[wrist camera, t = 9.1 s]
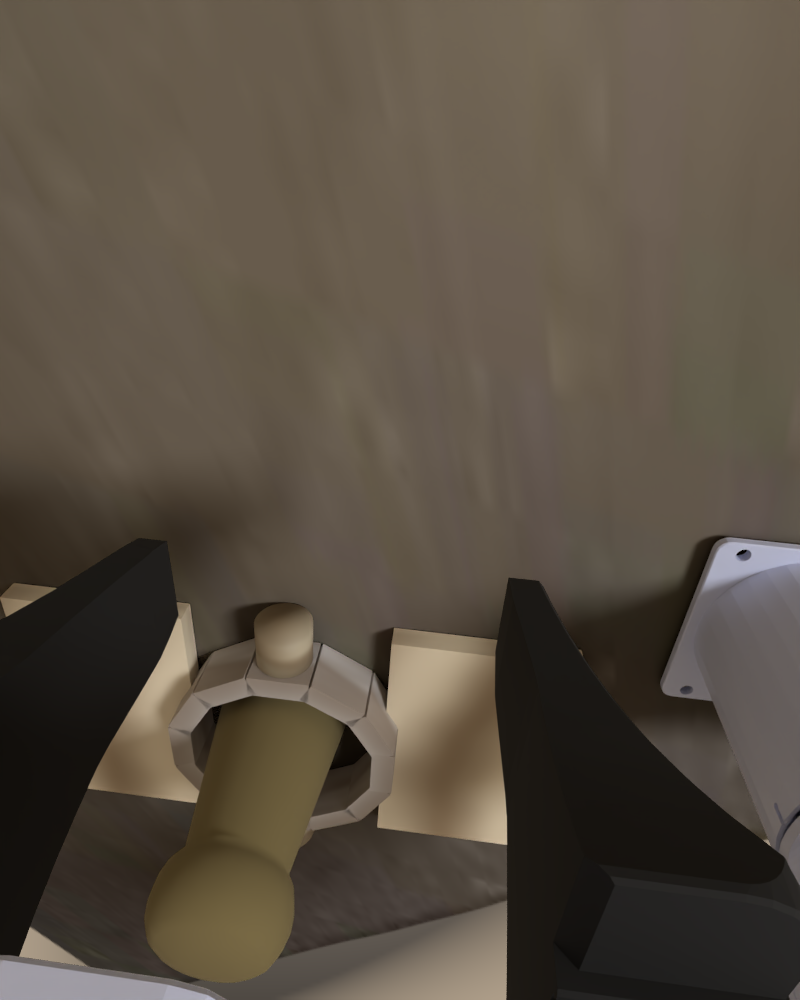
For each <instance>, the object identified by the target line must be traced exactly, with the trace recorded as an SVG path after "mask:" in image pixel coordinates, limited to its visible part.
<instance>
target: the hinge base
mask: <svg viewBox="0 0 800 1000" xmlns="http://www.w3.org/2000/svg"><path fill="white" fill-rule="evenodd" d="M55 589H56V588H53V587H44V586H36V585H27V584H19V583H13V584H12V585H11V586H10V587H9V588H8V589H7V590H6V591H5V592H4V594H3V595H2V596H1V597H0V600H1V603H2V606H3V609H4V612H5V615H6V617H7V616H9V615H11V614H12V613H14V612H16V611H18V610H19V609H21V608H23V607H25V606H27V605H28V604H30V603H32V602H34V601H35V600H37V599H39V598H41V597H42V596H44V595H46V594H48V593H50V592H51V591H53V590H55ZM177 608H178V614H179V616H178V618H177V621H176V623H175V626H174V628H173V631H172V633H171V636H170V638H169V641H168V643H167V645H166V647H165V650H164V652H163V654H162V657H161V658H160V660H159V662H158V664H157V665H156V667H155V669H154V671H153V672H152V674H151V676H150V678H149V679H148V681H147V683H146V684H145V686H144V688H143V689H142V691H141V693H140V695H139V696H138V698H137V700H136V701H135V703H134V705H133V706H132V708H131V710H130V711H129V713H128V715H127V716H126V718H125V720H124V721H123V723H122V725H121V726H120V728H119V730H118V731H117V733H116V735H115V736H114V738H113V740H112V742H111V743H110V745H109V747H108V748H107V750H106V752H105V754H104V756H103V758H102V760H101V761H100V763H99V765H98V767H97V769H96V771H95V773H94V776H93V778H92V780H91V782H90V784H89V786H88V789H95V790H103V791H110V792H118V793H125V794H133V795H140V796H147V797H155V798H162V799H170V800H177V801H185V802H192V803H196V802H197V799H198V795H199V791H200V787H201V783H202V779H203V776H204V772H205V768H206V764H207V760H208V756H209V752H210V749H211V745H212V741H213V737H214V733H215V729H216V724H215V723H214V719H213V712H212V707H215V706H218V705H221V704H225V703H228V702H232V701H235V700H238V699H242V698H245V697H249V696H252V695H253V696H261V697H269V698H277V699H285V700H293V701H301V702H305V703H307V704H309V705H311V706H313V707H315V708H316V709H318V710H320V711H322V712H324V713H326V714H328V715H330V716H332V717H334V718H335V719H337V720H339V721H341V722H343V723H345V724H347V725H348V726H349V727H350V728H351V730H352V731H353V732H354V734H355V735H356V737H357V738H358V739H359V741H360V742H361V743H362V745H363V746H364V747H365V749H366V750H367V752H366V753H365V754H364V755H363V756H362V757H361V758H360V759H359V760H358V761H357V762H356V763H355V764H353V765H349V766H345V767H341V768H336V769H332V770H329V771H328V774H327V776H326V779H325V782H324V784H323V787H322V790H321V792H320V795H319V797H318V800H317V803H316V805H315V808H314V810H313V813H312V816H311V818H310V821H309V824H308V826H307V829H306V831H305V834H304V837H303V839H302V842H301V845H300V847H302V846H303V845H305V844H306V843H307V842H308V841H309V840H310V839H311V837H312V835H313V833H314V830H319V829H324V828H329V827H334V826H338V825H343V824H348V823H353V822H358V821H359V820H362V819H363V818H364V817H365V816H366V815H368V814H369V813H370V812H371V811H372V810H373V809H375V808H376V807H377V806H378V805H379V812H378V824H377V827H378V828H385V829H393V830H400V831H408V832H415V833H423V834H430V835H438V836H445V837H452V838H460V839H467V840H475V841H482V842H490V843H497V844H505V845H507V814H506V799H505V789H504V779H503V770H502V760H501V751H500V742H499V732H498V723H497V713H496V703H495V650H496V645H497V640H494V639H485V638H477V637H468V636H460V635H451V634H443V633H434V632H426V631H417V630H409V629H400V628H394V632H393V638H392V645H391V658H390V671H389V684H388V692H387V690H386V689H385V687H384V686H383V684H382V683H381V682H380V680H379V679H378V677H377V676H376V674H375V673H372V670H370V669H368V668H366V667H365V666H363V665H361V664H359V663H357V662H356V661H354V660H352V659H350V658H348V657H346V656H345V655H343V654H341V653H339V652H337V651H336V650H334V649H332V648H330V647H328V646H327V645H325V644H323V645H322V646H321V643H317V642H313V618H312V615H311V613H310V612H309V611H308V610H307V609H306V608H304V607H302V606H300V605H297V604H293V603H279V604H274V605H271V606H269V607H267V608H265V609H263V610H262V611H261V612H260V613H259V614H258V615H257V616H256V618H255V620H254V634H255V638H254V639H251V640H248V641H244V642H241V643H238V644H235V645H232V646H229V647H226V648H223V649H220V650H217V651H214V652H213V653H211V655H210V656H209V657H208V659H207V660H206V662H205V663H204V664H203V666H202V667H201V669H200V670H199V667H198V659H197V652H196V645H195V637H194V630H193V623H192V616H191V608H190V604H188V603H180V602H177ZM579 651H580V652H581V654H582V650H579ZM582 656H583V654H582ZM300 847H299V848H300Z"/></svg>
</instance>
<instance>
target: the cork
mask: <svg viewBox="0 0 800 1000" xmlns="http://www.w3.org/2000/svg"><path fill="white" fill-rule="evenodd" d="M345 727H346V724H345V723H343V722H341V721H339V720H337V719H335V718H334V717H332V716H330V715H328V714H326V713H324V712H322V711H320V710H318V709H316V708H315V707H313V706H311V705H309V704H307V703H305V702H301V701H293V700H285V699H277V698H269V697H261V696H253V695H252V696H249V697H245V698H242V699H238V700H235V701H232V702H228V703H225V704H222V706H221V710H220V714H219V718H218V722H217V725H216V729H215V733H214V737H213V741H212V745H211V749H210V752H209V756H208V760H207V764H206V768H205V772H204V776H203V779H202V783H201V787H200V791H199V795H198V799H197V802H196V806H195V810H194V814H193V818H192V822H191V826H190V829H189V833H188V837H187V841H186V845H185V847H184V848H182V849H181V850H179V851H178V852H177V853H176V854H174V855H173V856H172V857H170V858H169V860H168V861H167V862H166V864H165V865H164V867H163V868H162V869H161V871H160V872H159V874H158V876H157V878H156V881H155V883H154V885H153V887H152V890H151V892H150V895H149V898H148V900H147V905H146V911H145V916H144V922H145V930H146V937H147V940H148V944H149V946H150V947H151V948H152V949H153V951H154V952H155V953H156V954H157V955H158V957H159V958H160V959H161V960H162V961H163V962H164V963H166V964H167V965H169V966H170V967H171V968H173V969H175V970H177V971H179V972H181V973H183V974H186V975H188V976H191V977H195V978H198V979H201V980H206V981H213V982H219V983H227V982H229V983H235V982H239V981H245V980H248V979H251V978H254V977H257V976H258V975H260V974H262V973H264V972H266V971H267V970H268V969H269V968H270V966H271V965H272V964H273V963H274V962H275V961H276V959H277V958H278V957H279V955H280V954H281V952H282V951H283V949H284V947H285V944H286V942H287V940H288V938H289V936H290V934H291V929H292V924H293V920H294V886H293V883H292V881H291V878H290V875H289V873H290V871H291V868H292V866H293V863H294V860H295V858H296V855H297V852H298V850H299V847H300V845H301V842H302V839H303V837H304V834H305V831H306V829H307V826H308V824H309V821H310V818H311V816H312V813H313V810H314V808H315V805H316V803H317V800H318V797H319V795H320V792H321V790H322V787H323V784H324V782H325V779H326V776H327V774H328V771H329V769H330V766H331V763H332V761H333V758H334V755H335V753H336V750H337V748H338V745H339V742H340V740H341V737H342V734H343V732H344V729H345Z"/></svg>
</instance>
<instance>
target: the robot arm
mask: <svg viewBox="0 0 800 1000" xmlns="http://www.w3.org/2000/svg"><path fill="white" fill-rule="evenodd" d="M741 550H747V551H746V552H745V553H744V554H742V555H736V554H737V553H738V552H739V551H741ZM178 616H179V614H178V608H177V602H176V595H175V589H174V583H173V577H172V571H171V564H170V558H169V552H168V546H167V541H161V540H151V539H142V538H138V539H137V540H135V541H133V542H131V543H129V544H128V545H126V546H124V547H123V548H121V549H119V550H118V551H116V552H114V553H113V554H111V555H110V556H108V557H106V558H105V559H103V560H102V561H100V562H98V563H97V564H95V565H94V566H92V567H90V568H89V569H87V570H86V571H84V572H82V573H81V574H79V575H78V576H76V577H74V578H73V579H71V580H69V581H68V582H66V583H65V584H63V585H61V586H60V587H58V588H56V589H55V590H53V591H51V592H50V593H48V594H46V595H44V596H42V597H41V598H39V599H37V600H35V601H34V602H32V603H30V604H28V605H27V606H25V607H23V608H21V609H19V610H18V611H16V612H14V613H12V614H11V615H9V616H7V617H5V618H3V619H1V620H0V1000H227V999H225V998H223V997H221V996H220V995H218V994H216V993H214V992H212V991H211V990H209V989H207V988H203V987H199V986H196V985H192V984H188V983H184V982H181V981H177V980H173V979H167V978H160V977H154V976H147V975H140V974H133V973H127V972H120V971H113V970H106V969H99V968H93V967H86V966H79V965H72V964H66V963H59V962H51V961H45V960H39V959H32V958H24V957H19V955H20V952H21V949H22V946H23V944H24V941H25V939H26V936H27V933H28V930H29V928H30V925H31V922H32V919H33V917H34V914H35V912H36V909H37V906H38V904H39V901H40V899H41V896H42V894H43V891H44V889H45V886H46V884H47V881H48V879H49V876H50V874H51V871H52V869H53V866H54V864H55V861H56V859H57V856H58V854H59V852H60V850H61V847H62V845H63V843H64V840H65V838H66V836H67V833H68V831H69V829H70V826H71V824H72V822H73V819H74V817H75V815H76V812H77V810H78V808H79V806H80V804H81V802H82V799H83V797H84V795H85V793H86V791H87V789H88V786H89V784H90V782H91V780H92V778H93V776H94V773H95V771H96V769H97V767H98V765H99V763H100V761H101V760H102V758H103V756H104V754H105V752H106V750H107V748H108V747H109V745H110V743H111V742H112V740H113V738H114V736H115V735H116V733H117V731H118V730H119V728H120V726H121V725H122V723H123V721H124V720H125V718H126V716H127V715H128V713H129V711H130V710H131V708H132V706H133V705H134V703H135V701H136V700H137V698H138V696H139V695H140V693H141V691H142V689H143V688H144V686H145V684H146V683H147V681H148V679H149V678H150V676H151V674H152V672H153V671H154V669H155V667H156V665H157V664H158V662H159V660H160V658H161V657H162V654H163V652H164V650H165V647H166V645H167V643H168V641H169V638H170V636H171V633H172V631H173V628H174V626H175V623H176V621H177V618H178ZM660 685H661V688H662V691H663V693H665V694H666V695H669V696H675V697H683V698H691V699H699V700H708V701H713V704H714V706H715V709H716V711H717V714H718V716H719V719H720V721H721V723H722V726H723V728H724V731H725V733H726V736H727V738H728V741H729V743H730V746H731V748H732V751H733V753H734V756H735V758H736V761H737V763H738V766H739V768H740V771H741V773H742V775H743V778H744V780H745V783H746V785H747V788H748V790H749V793H750V795H751V798H752V800H753V803H754V805H755V808H756V810H757V813H758V815H759V818H760V820H761V823H762V825H763V827H764V830H765V832H766V835H767V837H768V840H769V842H770V845H771V846H769V845H768V844H767V843H766V842H764V841H763V840H762V839H760V838H759V837H758V836H756V835H755V834H754V833H752V832H751V831H750V830H748V829H747V828H746V827H745V826H743V825H742V824H741V823H739V822H738V821H737V820H735V819H734V818H733V817H731V816H730V815H729V814H728V813H727V812H725V811H724V810H723V809H722V808H721V807H719V806H718V805H717V804H716V803H715V802H714V801H712V800H711V799H710V798H709V797H708V796H707V795H706V794H704V793H703V792H702V791H701V790H700V789H699V788H697V787H696V786H695V785H694V784H693V783H692V782H691V781H690V780H689V779H688V778H686V777H685V776H684V775H683V774H682V773H681V772H680V771H679V770H678V769H677V768H676V767H675V766H674V765H673V764H672V763H671V762H670V761H669V760H668V759H667V758H666V757H665V756H664V755H663V754H662V753H661V752H660V751H659V750H658V749H657V748H656V747H655V746H654V745H653V744H652V743H651V742H650V741H649V740H648V739H647V738H646V737H645V736H644V735H643V733H642V732H641V731H640V730H639V729H638V728H637V727H636V726H635V724H634V723H633V722H632V721H631V720H630V719H629V717H628V716H627V715H626V714H625V713H624V712H623V710H622V709H621V708H620V707H619V705H618V704H617V703H616V702H615V700H614V699H613V698H612V696H611V695H610V694H609V693H608V691H607V690H606V689H605V687H604V686H603V684H602V683H601V682H600V680H599V679H598V678H597V676H596V675H595V673H594V672H593V671H592V669H591V668H590V666H589V665H588V663H587V662H586V660H585V659H584V657H583V656H582V654H581V652H580V651H579V649H578V648H577V646H576V645H575V643H574V641H573V640H572V638H571V637H570V635H569V633H568V632H567V630H566V628H565V627H564V625H563V623H562V621H561V620H560V618H559V616H558V614H557V612H556V611H555V609H554V607H553V605H552V603H551V601H550V599H549V597H548V595H547V593H546V591H545V589H544V587H543V586H542V584H541V583H540V582H539V581H535V580H525V579H516V578H509V579H508V584H507V590H506V595H505V601H504V606H503V612H502V617H501V623H500V628H499V634H498V639H497V645H496V650H495V703H496V713H497V723H498V732H499V742H500V751H501V760H502V770H503V779H504V789H505V799H506V814H507V998H506V1000H800V545H797V544H788V543H778V542H769V541H760V540H751V539H741V538H732V537H729V538H723V539H720V540H719V541H717V542H716V543H715V544H714V546H713V547H712V550H711V552H710V555H709V558H708V560H707V563H706V565H705V568H704V570H703V573H702V576H701V578H700V581H699V583H698V586H697V588H696V591H695V594H694V596H693V599H692V601H691V604H690V606H689V609H688V612H687V614H686V617H685V619H684V622H683V624H682V627H681V630H680V632H679V635H678V637H677V640H676V642H675V645H674V648H673V650H672V653H671V655H670V658H669V660H668V663H667V666H666V668H665V671H664V673H663V676H662V678H661V681H660ZM684 686H687V687H684Z"/></svg>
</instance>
